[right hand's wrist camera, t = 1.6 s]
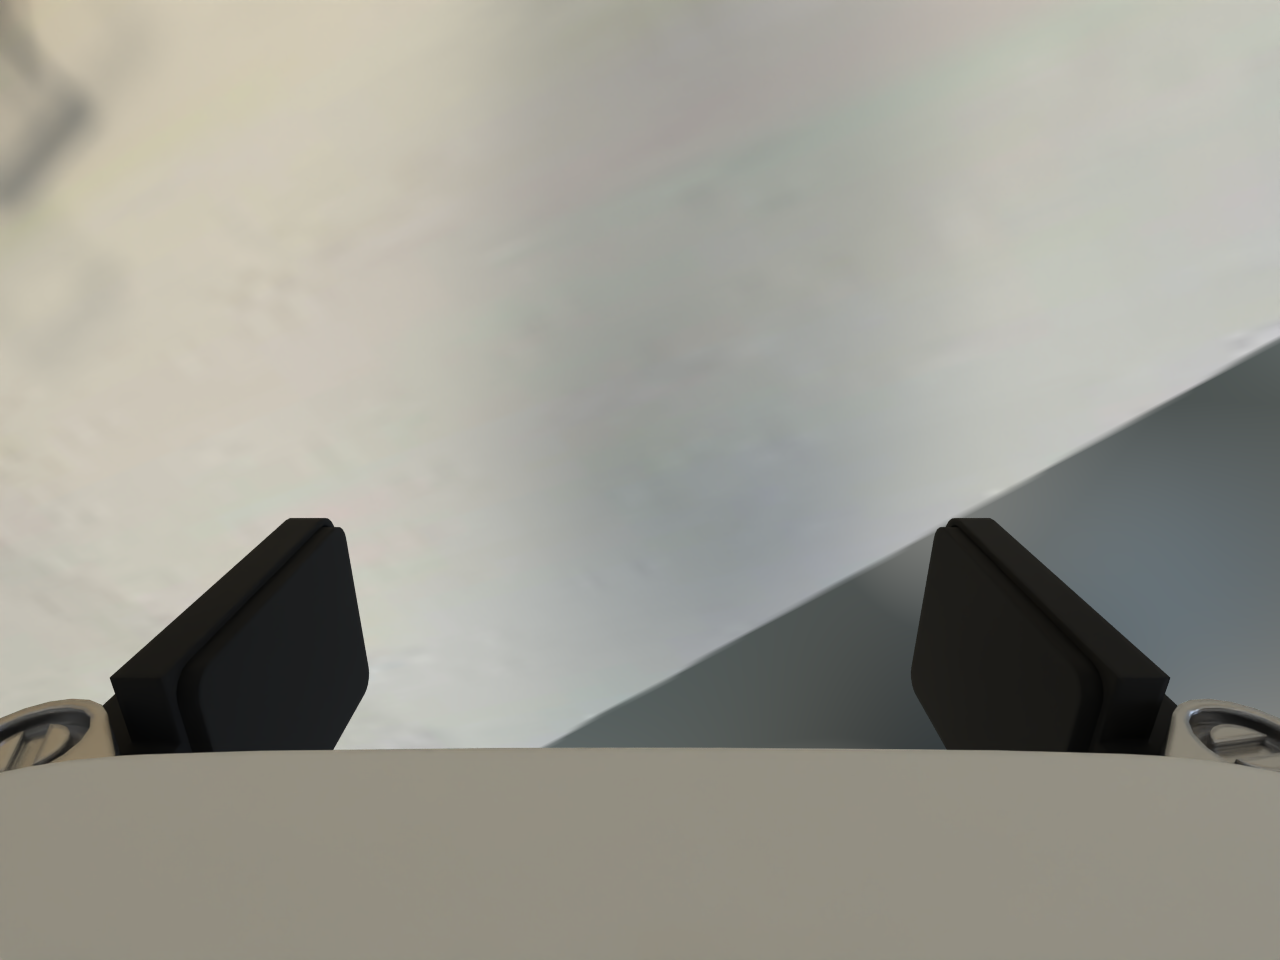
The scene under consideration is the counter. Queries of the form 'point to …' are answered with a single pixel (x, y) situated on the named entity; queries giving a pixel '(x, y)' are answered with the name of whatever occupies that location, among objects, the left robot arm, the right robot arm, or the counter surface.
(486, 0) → the counter surface
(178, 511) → the counter surface
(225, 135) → the counter surface
